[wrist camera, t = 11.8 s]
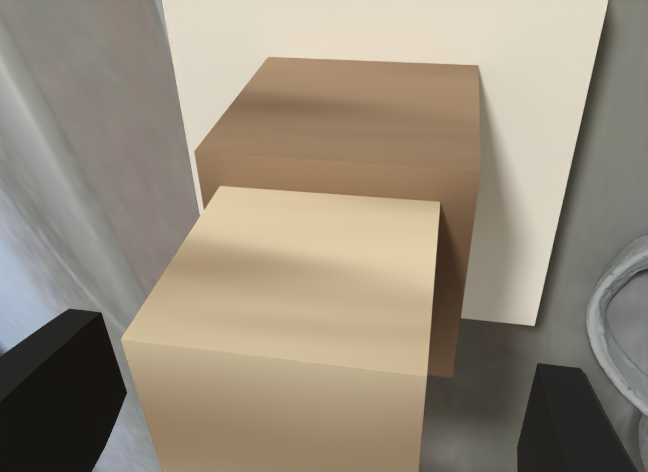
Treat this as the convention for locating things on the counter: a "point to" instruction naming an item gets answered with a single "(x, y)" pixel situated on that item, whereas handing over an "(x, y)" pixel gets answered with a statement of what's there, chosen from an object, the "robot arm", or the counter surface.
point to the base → (439, 48)
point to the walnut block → (363, 152)
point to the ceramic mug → (609, 354)
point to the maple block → (290, 335)
